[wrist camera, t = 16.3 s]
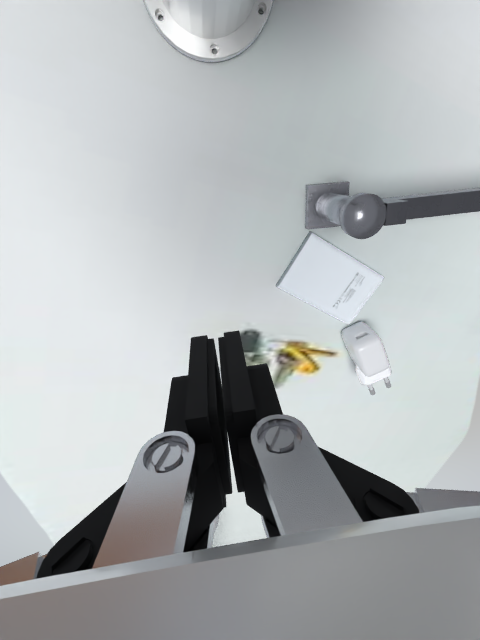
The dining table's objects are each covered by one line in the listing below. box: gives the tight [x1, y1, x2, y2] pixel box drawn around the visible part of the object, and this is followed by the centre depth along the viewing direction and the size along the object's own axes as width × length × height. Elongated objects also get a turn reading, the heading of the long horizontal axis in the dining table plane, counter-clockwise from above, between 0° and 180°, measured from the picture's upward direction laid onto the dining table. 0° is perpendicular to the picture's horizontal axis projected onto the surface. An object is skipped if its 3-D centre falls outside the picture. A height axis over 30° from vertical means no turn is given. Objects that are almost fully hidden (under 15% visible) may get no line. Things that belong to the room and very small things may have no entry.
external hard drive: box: [276, 232, 384, 325], centre depth 43 cm, size 2×8×12 cm
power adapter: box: [341, 322, 392, 395], centre depth 47 cm, size 11×5×6 cm, turn 27°
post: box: [305, 182, 351, 229], centre depth 35 cm, size 5×5×9 cm
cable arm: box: [339, 188, 480, 239], centre depth 32 cm, size 26×4×4 cm, turn 96°
